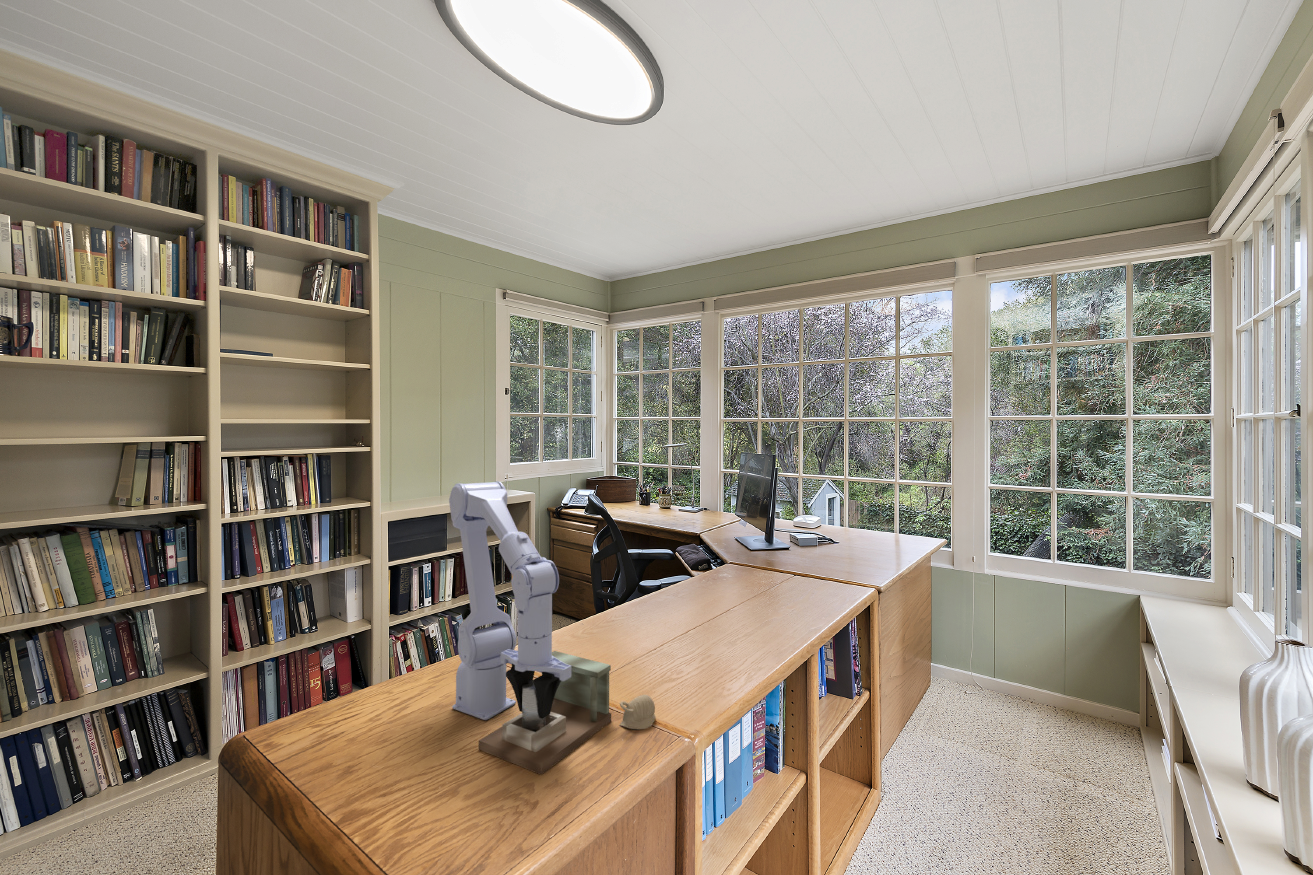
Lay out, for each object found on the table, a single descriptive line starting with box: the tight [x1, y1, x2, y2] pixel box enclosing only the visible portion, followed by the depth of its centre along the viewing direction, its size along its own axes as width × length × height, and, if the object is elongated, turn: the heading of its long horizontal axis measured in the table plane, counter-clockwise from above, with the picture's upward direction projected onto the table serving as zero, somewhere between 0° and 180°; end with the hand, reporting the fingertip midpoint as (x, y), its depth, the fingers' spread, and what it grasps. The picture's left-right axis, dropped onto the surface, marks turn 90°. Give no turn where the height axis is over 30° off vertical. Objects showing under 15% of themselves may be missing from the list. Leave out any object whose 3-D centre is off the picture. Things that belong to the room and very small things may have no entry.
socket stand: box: [478, 650, 612, 776], centre depth 97 cm, size 14×19×10 cm
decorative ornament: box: [619, 694, 657, 730], centre depth 100 cm, size 4×8×5 cm, turn 127°
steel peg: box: [521, 679, 546, 732], centre depth 93 cm, size 4×4×8 cm
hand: (534, 712), depth 94 cm, fingers closed on steel peg, 4 cm apart
